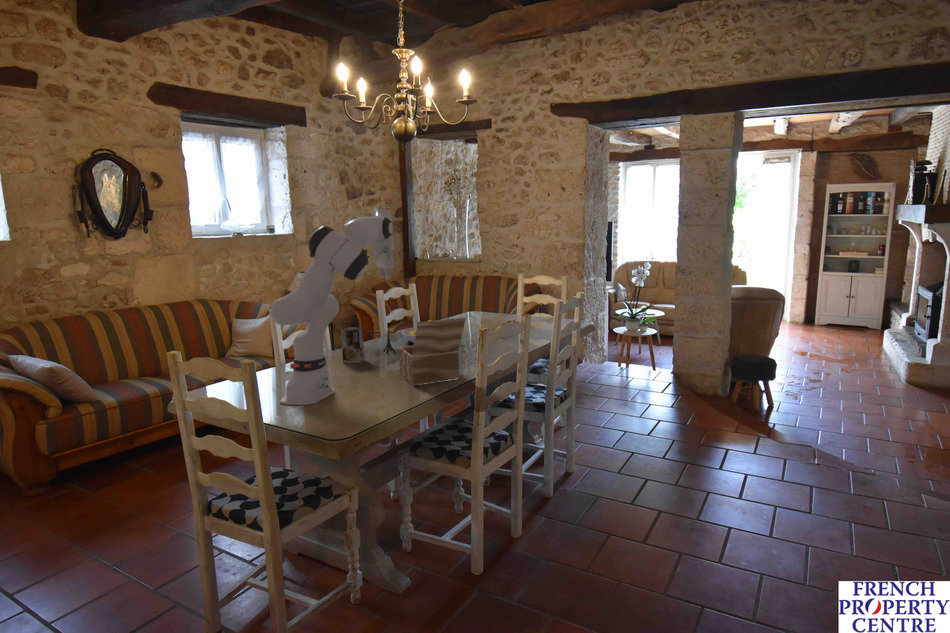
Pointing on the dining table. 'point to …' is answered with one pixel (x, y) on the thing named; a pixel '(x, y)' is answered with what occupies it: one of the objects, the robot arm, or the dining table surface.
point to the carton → (428, 366)
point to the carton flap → (438, 336)
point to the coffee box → (352, 345)
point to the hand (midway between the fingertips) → (385, 278)
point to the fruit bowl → (410, 333)
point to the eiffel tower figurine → (388, 345)
